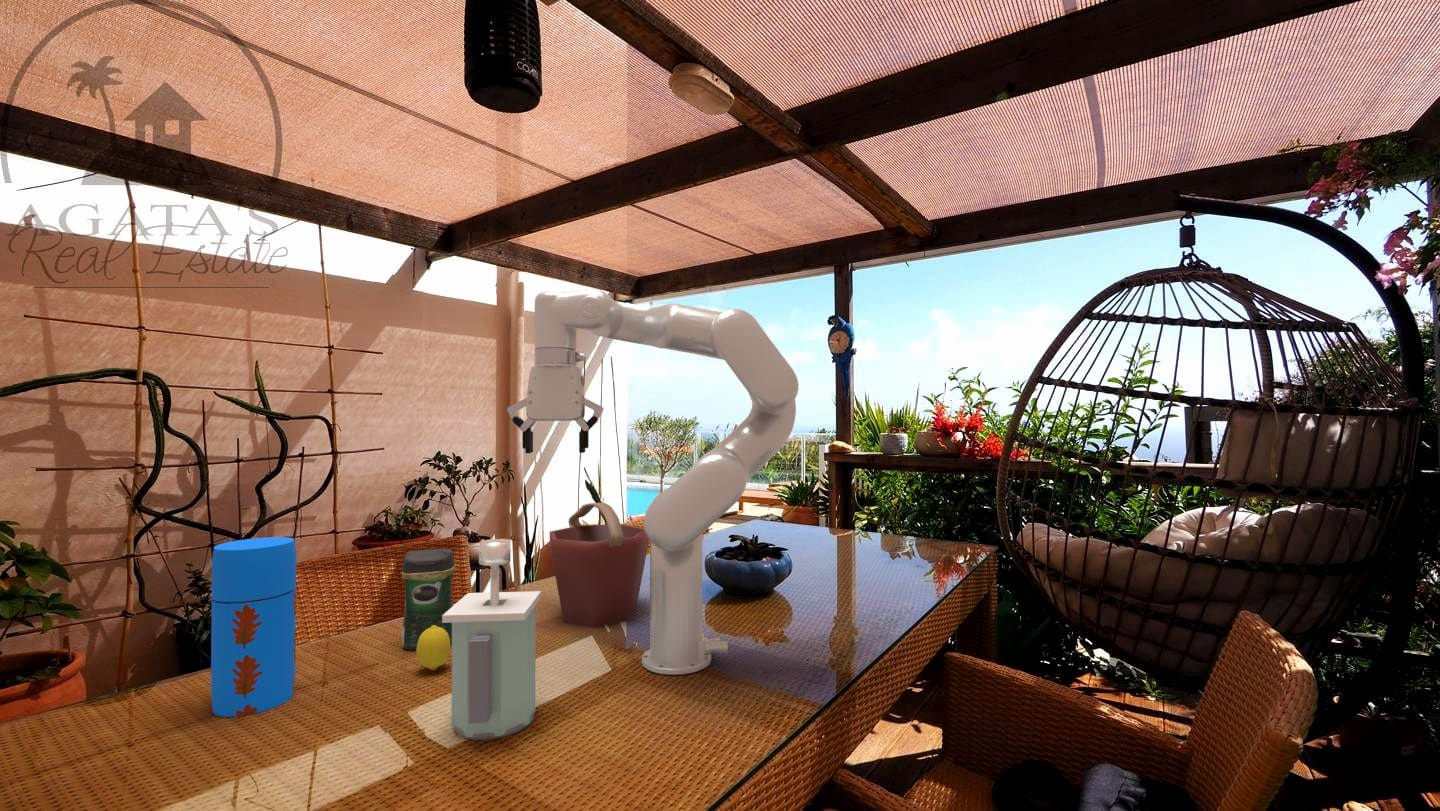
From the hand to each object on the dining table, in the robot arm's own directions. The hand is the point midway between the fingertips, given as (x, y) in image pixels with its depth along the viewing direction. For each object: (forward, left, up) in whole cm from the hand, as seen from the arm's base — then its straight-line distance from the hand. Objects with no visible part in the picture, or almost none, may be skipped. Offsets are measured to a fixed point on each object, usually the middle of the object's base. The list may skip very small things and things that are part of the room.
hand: (555, 452), depth 117 cm
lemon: (+21, +2, -38) cm, 44 cm away
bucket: (-5, -28, -39) cm, 48 cm away
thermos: (+45, +12, -38) cm, 60 cm away
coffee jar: (+27, -12, -38) cm, 49 cm away
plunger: (+5, +22, -36) cm, 43 cm away
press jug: (+5, +23, -38) cm, 45 cm away
